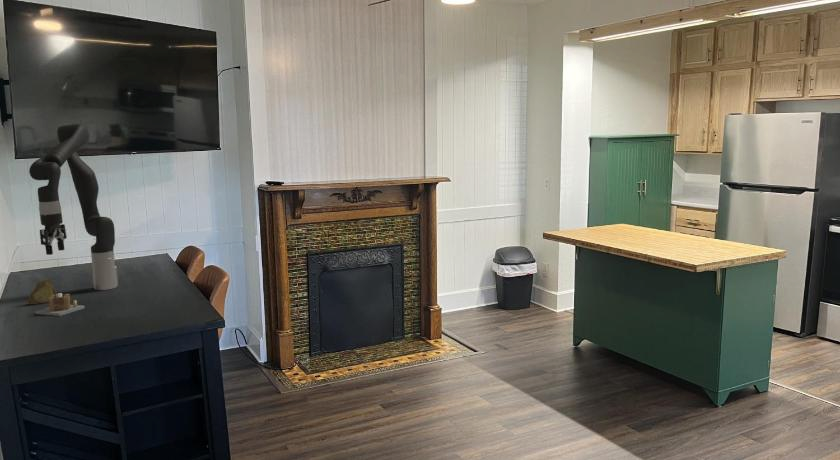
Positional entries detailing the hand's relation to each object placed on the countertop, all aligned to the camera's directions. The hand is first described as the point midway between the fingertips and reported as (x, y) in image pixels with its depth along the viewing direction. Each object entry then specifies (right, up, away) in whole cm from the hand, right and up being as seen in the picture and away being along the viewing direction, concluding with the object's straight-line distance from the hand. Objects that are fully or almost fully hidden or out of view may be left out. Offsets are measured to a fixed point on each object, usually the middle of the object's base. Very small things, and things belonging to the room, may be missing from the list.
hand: (55, 252), depth 252 cm
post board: (+4, -23, -3) cm, 24 cm away
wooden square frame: (+4, -22, -3) cm, 23 cm away
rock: (-12, -22, +12) cm, 28 cm away
